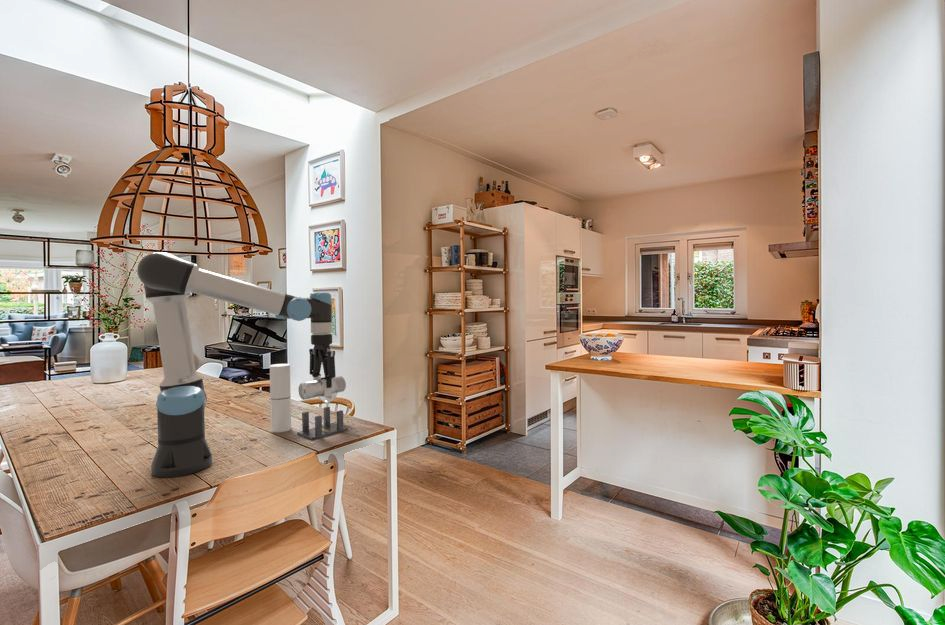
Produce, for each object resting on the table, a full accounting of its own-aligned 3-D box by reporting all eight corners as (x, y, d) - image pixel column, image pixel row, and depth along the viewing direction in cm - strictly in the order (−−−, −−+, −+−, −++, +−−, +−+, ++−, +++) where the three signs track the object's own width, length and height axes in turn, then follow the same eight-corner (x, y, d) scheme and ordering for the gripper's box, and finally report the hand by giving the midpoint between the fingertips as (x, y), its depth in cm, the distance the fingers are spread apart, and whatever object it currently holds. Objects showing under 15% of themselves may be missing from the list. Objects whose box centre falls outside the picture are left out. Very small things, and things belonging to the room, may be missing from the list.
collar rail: (312, 440, 153) (311, 418, 153) (297, 434, 160) (296, 413, 159) (347, 430, 165) (347, 409, 165) (332, 425, 171) (332, 405, 171)
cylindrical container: (277, 433, 161) (275, 367, 160) (267, 430, 165) (266, 365, 165) (294, 429, 167) (293, 364, 166) (284, 425, 171) (283, 363, 170)
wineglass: (321, 426, 170) (320, 380, 170) (314, 421, 177) (313, 378, 176) (341, 422, 176) (340, 378, 175) (333, 418, 182) (332, 375, 181)
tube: (336, 391, 170) (336, 375, 170) (346, 392, 166) (345, 376, 166) (298, 399, 158) (298, 382, 157) (307, 400, 154) (307, 383, 154)
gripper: (345, 334, 158) (346, 396, 159) (316, 331, 170) (317, 390, 171) (327, 335, 152) (328, 400, 153) (298, 333, 164) (299, 393, 165)
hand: (322, 395), depth 162 cm, fingers closed on tube, 6 cm apart
